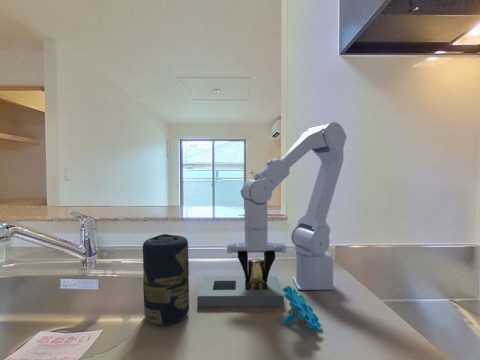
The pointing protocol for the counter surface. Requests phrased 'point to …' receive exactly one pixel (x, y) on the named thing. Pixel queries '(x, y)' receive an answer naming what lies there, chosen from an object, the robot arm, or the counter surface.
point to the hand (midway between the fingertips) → (256, 280)
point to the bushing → (256, 274)
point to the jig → (238, 292)
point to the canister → (165, 278)
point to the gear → (300, 309)
